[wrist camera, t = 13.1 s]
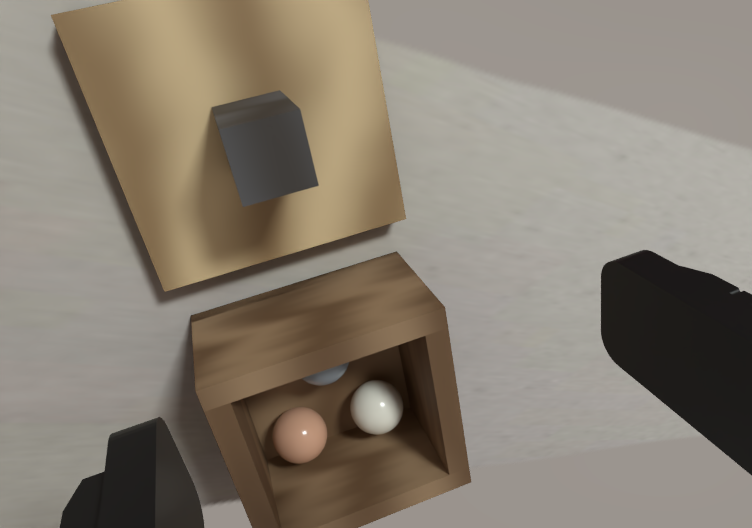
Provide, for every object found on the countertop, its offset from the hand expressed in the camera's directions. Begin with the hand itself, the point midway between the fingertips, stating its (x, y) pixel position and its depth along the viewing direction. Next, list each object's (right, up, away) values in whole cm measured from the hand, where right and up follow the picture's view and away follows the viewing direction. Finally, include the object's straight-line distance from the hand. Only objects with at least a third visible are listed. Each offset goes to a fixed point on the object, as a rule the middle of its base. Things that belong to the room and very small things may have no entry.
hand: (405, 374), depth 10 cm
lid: (-6, +8, +18) cm, 21 cm away
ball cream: (-1, -6, +27) cm, 27 cm away
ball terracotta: (-5, -7, +26) cm, 27 cm away
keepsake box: (-4, -4, +26) cm, 26 cm away
